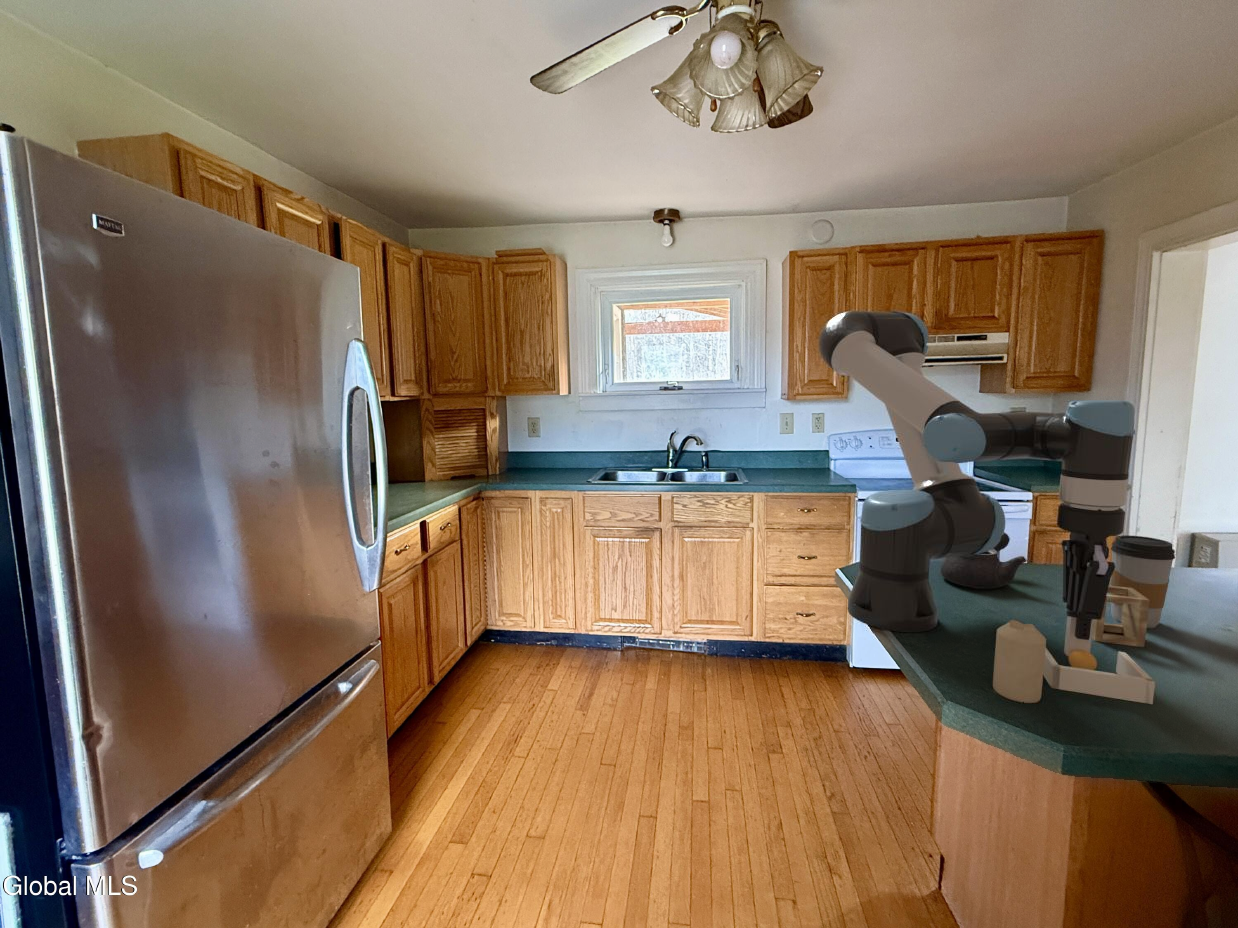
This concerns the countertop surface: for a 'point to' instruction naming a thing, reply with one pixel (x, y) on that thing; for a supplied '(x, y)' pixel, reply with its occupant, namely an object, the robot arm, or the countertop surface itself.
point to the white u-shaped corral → (1102, 680)
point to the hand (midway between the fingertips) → (1076, 655)
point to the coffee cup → (1142, 572)
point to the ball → (1082, 660)
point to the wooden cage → (1124, 618)
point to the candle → (1019, 662)
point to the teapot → (982, 568)
